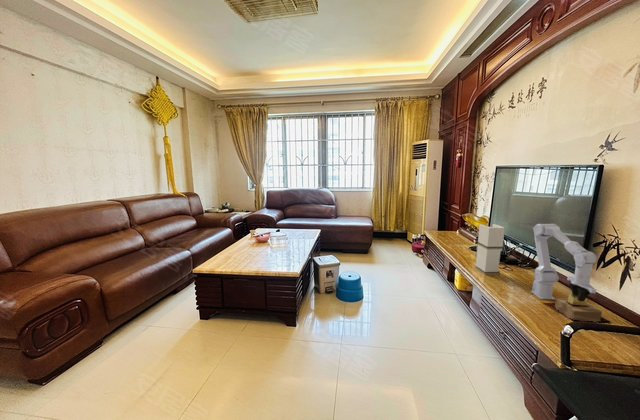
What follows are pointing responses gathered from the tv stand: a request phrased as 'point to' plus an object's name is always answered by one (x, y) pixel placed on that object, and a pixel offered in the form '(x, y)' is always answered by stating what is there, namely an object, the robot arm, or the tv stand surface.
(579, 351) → the tv stand surface
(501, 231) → the stacked grey cubes
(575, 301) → the block
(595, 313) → the box
